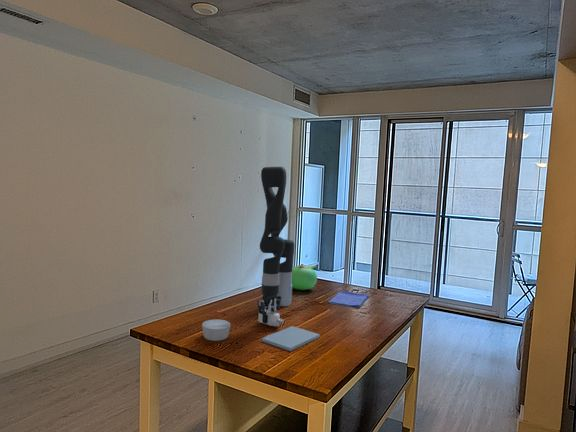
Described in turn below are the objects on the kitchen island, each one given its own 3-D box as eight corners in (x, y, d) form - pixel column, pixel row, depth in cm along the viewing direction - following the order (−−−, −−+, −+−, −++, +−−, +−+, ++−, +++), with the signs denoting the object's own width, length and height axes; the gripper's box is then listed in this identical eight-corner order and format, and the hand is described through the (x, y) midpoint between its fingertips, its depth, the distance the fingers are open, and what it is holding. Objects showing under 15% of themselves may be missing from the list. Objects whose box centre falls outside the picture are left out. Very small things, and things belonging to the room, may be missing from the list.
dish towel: (369, 298, 239) (369, 293, 239) (359, 309, 218) (360, 304, 217) (339, 294, 246) (339, 289, 246) (327, 304, 224) (327, 299, 224)
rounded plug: (262, 318, 189) (263, 308, 189) (285, 325, 182) (285, 315, 181) (256, 321, 186) (256, 311, 185) (279, 328, 178) (279, 317, 178)
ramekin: (217, 344, 160) (217, 330, 160) (195, 337, 166) (195, 324, 166) (235, 336, 170) (236, 323, 169) (214, 329, 176) (215, 317, 175)
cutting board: (292, 328, 182) (292, 326, 181) (319, 337, 173) (319, 334, 173) (261, 341, 166) (261, 338, 166) (290, 351, 157) (290, 348, 157)
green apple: (283, 291, 244) (284, 265, 243) (288, 284, 260) (289, 260, 259) (314, 294, 241) (316, 268, 240) (317, 287, 258) (319, 263, 256)
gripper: (274, 278, 191) (272, 315, 192) (252, 284, 179) (251, 323, 181) (287, 281, 186) (285, 319, 188) (266, 287, 175) (264, 327, 176)
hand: (268, 321), depth 184 cm, fingers closed on rounded plug, 4 cm apart
